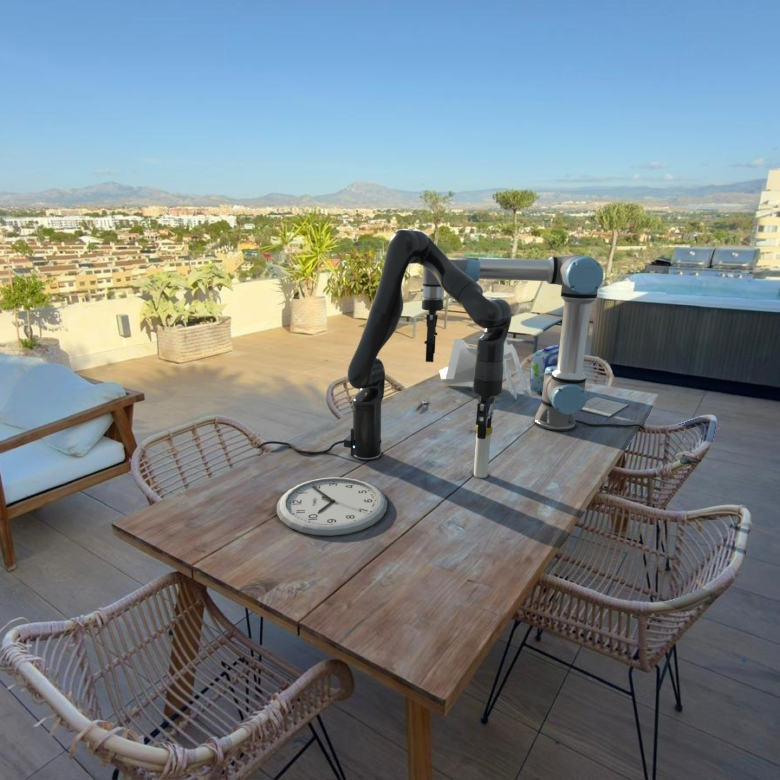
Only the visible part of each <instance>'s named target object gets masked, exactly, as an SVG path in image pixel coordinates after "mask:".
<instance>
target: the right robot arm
mask: <svg viewBox="0 0 780 780" xmlns="http://www.w3.org/2000/svg"><path fill="white" fill-rule="evenodd" d="M443 254H444V255H445V256H446V253H444V252H443ZM448 259H449V260H450V261H451V262H452V263H453V264H454V265H456V266H457V267H458V268H459V269H460V270H461V271H463V272H464V273H465V274H467V275H468V276H469V277H470V278H472V279H473V280H474V281H475V282H477V283H478V282H479V281H480V280H495V281H497V280H499V281H500V280H501V281H526V282H527V281H531V282H546V283H547V284H548V285H557V286H561V289H560V298H561V299H562V300H563V303H564V305H563V313H562V322H561V330H560V339H559V345H558V346H559V355H558V364H557V366H553V367H547V368H546V369H545V373H544V382H543V392H542V393H541V402H540V405H539V407H537V408H536V413H535V416H534V424H535V425H536V426H537V427H539V428H542V429H544V430H549V431H556V432H567V431H572V430H574V429H575V428H576V423H577V424H580V425H585V426H589V427H622V428H633V427H638V428H640V429H641V430H645V431H646V428H645V427H644V426H643V425H641V424H638V423H633V424H632V423H630V424H623V423H621V424H620V423H589V422H585V421H583V420H582V421H581V420H578V419H576V418H575V417H576V416H575V414H576V413H579V412H580V411H582V410H581V409H582V408H583V407H584V406H585V404H586V401H588V397H587V392H586V389H585V388H586V383H587V382H586V381H587V375H586V374H585V373H584V371H583V369H584V361H585V355H586V347H587V339H588V338H587V337H588V330H589V324H590V318H591V317H590V316H591V308H592V303H593V302H594V301H596V300H597V298H598V294H599V293H598V291H599V288H601V285H602V284H603V281H604V269H603V267H602V265H601V264H600V262H599V261H597V260H596V259H595V258H594V257H592V256H587V255H581V254H574V255H573V254H572V255H565V256H551V257H549V258H548V259H545V258H544V259H543V258H542V259H541V258H540V259H539V258H501V257H500V258H497V257H496V258H495V257H494V258H492V257H466V256H460V257H457V258H455V259H451V258H448ZM420 292H421V293H422V294H421V296H422V299H421V309H422V310H423V311H428V313H426V316H425V320H426V340H424V342H423V343H424V344H425V362H426V363H434V359H435V357H434V356H435V353H436V338H437V337H436V336H438V332H437V329H436V328H437V324H438V318H439V315H438V314H437V311H438V312H439V311H442V310H444V299H443V298H444V297H445V291H444V289H443V288H442V287H441V285H440V283H439V281H438V280H437V278H436V276H435V275H434V274H433V273H432V272H431V271H430V270H428V269H427V268H425V267H424V266H422V288H420Z"/></svg>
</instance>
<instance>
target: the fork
mask: <svg viewBox="0 0 780 780" xmlns="http://www.w3.org/2000/svg"><path fill="white" fill-rule="evenodd" d="M429 400H430V397H429V396H426V395H424V396H423V398H422V401H421V403H420V404H418V406H417V408H416V409H415V411H418V410H419V409H421V408H422V407H423V405H424V404H428V403H429Z"/></svg>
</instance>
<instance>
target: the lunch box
mask: <svg viewBox="0 0 780 780" xmlns="http://www.w3.org/2000/svg"><path fill="white" fill-rule="evenodd" d="M559 346H560V345H551V346H548V347H544V348H543V349H539V350H536V351H535V352H534V354H533V356H532V358H531V363H530V374H529V391H532V392H536V393H540V394H542V392H543V382H544V373H545V369H546V368H547V367H553V366H557V364H558V355H559Z"/></svg>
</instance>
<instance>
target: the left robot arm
mask: <svg viewBox="0 0 780 780" xmlns="http://www.w3.org/2000/svg"><path fill="white" fill-rule="evenodd" d="M443 253H444V252H443V251H442V250H441V249H440V247H438V245H437V244H436V243H435V242H434V241H433V240H432V239H431V237H430V236H429V235H428V234H427V233H425V232H424V231H422V230H419V229H408V228H401V229H398V230H396V231H395V232H394V233H393V234H392V235H391V237H390V239H389V241H388V245H387V248H386V253H385V258H384V263H383V267H382V271H381V274H380V278H379V281H378V285H377V287H376V292H375V295H374V298H373V300H372V303H371V306H370V309H369V312H368V315H367V319H366V322H365V325H364V328H363V331H362V334H361V337H360V340H359V342H358V345H357V347H356V349H355V351H354V354H353V356H352V358H351V361H350V363H349V365H348V368H347V380H348V383H349V384H350V386H351V387H352V388H354V389H356V390H358V392H357V393H356V394H355V395H354V396H353V398H352V428H350V434H349V435H348V436H347V437H345V438H344V439H343V440H338V441H336V442H333V443H332V444H331V445H330V446H329V448H327V449H325V450H320V451H308V450H302V449H298V448H297V447H296V446H294V445H293V444H291V443H290V442H285V441H277V440H276V441H275V440H269V441H264V442H262V443H260V444H259V445H258V446H256V449H260V448H262V447H263V446H266V445H272V444H274V445H282V446H283V445H284V446H289V447H290V448H292V449H293V451H295V452H297V453H299V454H300V453H301V454H305V455H318V454H319V455H320V454H325V453H328V452H331V450H332V449H333V448H334V447H335V446H337V445H339V444H340V445H341V444H343V447H344V448H347V449H350V456H351V457H354V459H357V460H361V461H374V460H376V459H378V458H380V457H381V456H382V402H383V400H384V396H385V383H386V370H385V366H384V363H383V361H382V360H381V359H380V358H379V357H378V355H379V353H380V351H382V349H383V347H384V346H385V345H386V344H387V342H388V341H389V340H390V339H391V338H392V336H393V335H394V334H395V331H396V329H397V327H398V325H399V323H400V320H401V317H402V314H403V310H404V298H403V289H402V286H403V281H404V278H405V274H406V272H407V269H408V267H409V265H415V264H418V265H420V266H421V267H423V266H424V267H425V268H427V269H428V270H430V271H431V272H432V273H433V274H434V275H435V276H436V278H437V280H438V281H439V283H440V285H441V287H442V288H443V289H444V293H446V294H447V295H448V296H449V297H451V298H452V299H453V300H454V301H455V302H456V303H457V304H458V305H460V306H461V307H462V308H463V310H464V311H465V312H466V314H467V315H468V317H469V319H471V320H472V321H473V322H474V324H476V325H477V326H479V327H480V328H482V329H484V332H483V335H481V336H480V337H479V338H478V340H477V342H476V346H477V352H476V362H475V368H474V382H472V391H473V393H474V394H475V395H479V396H480V397H479V399H478V400H477V403H476V421H475V426H476V425H478V431H477V433H476V435H477V438H479V439H485V438H486V428H490V427H491V424H492V423H493V422H492V421H493V420H492V419H493V414H494V411H495V403H496V397H497V396H499V395H501V394H502V392H503V380H504V379H503V378H504V370H503V356H504V343H505V340H507V337H508V334H509V331H510V327H511V323H512V316H513V313H512V308H511V305H510V304H509V302H508V301H507V300H505V299H503V298H494V299H489V298H487V297H485V296H484V290H483V287H482V286H481V284H479V283H478V282H475V281H474V280H473V279H472V278H470V277H469V276H468V275H467V274H465V273H464V272H463V271H461V270H460V269H459V268H458V267H457V266H456V265H454V264H453V263H452V262H451V261H450V260H451V259H450V258H449V257H447V256H446V254H445V253H444V254H445V255H444V254H443ZM449 259H450V260H449ZM481 418H483V420H481Z"/></svg>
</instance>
